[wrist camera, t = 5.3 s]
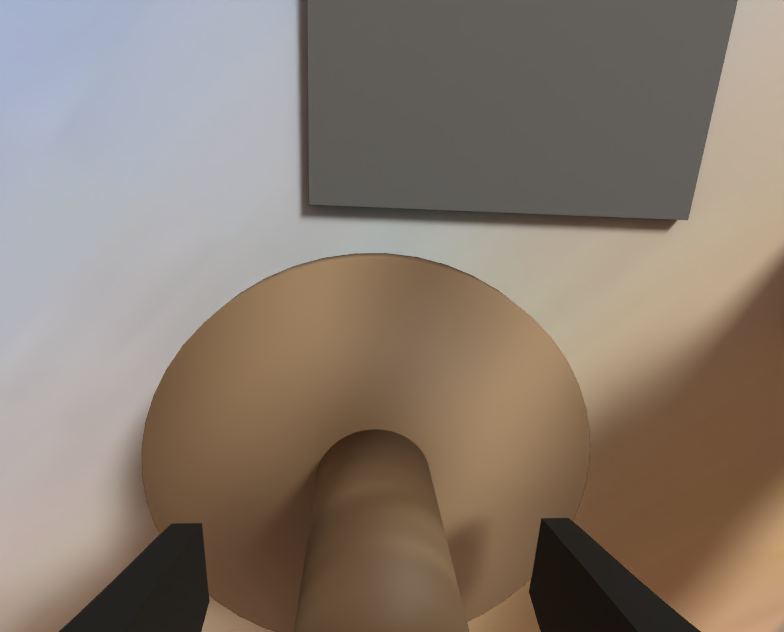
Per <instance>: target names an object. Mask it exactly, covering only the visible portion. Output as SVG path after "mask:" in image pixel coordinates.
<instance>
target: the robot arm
mask: <svg viewBox="0 0 784 632" xmlns="http://www.w3.org/2000/svg"><path fill="white" fill-rule="evenodd" d="M529 593H530V597H531V600H532V604H533V607H534V611H535V614H536V617H537V621H538V624H539V627H540V630H541V632H701V631H699V630H698V629H697V628H695V627H694V626H693V625H692V624H690V623H689V622H688V621H687V620H686V619H684V618H683V617H682V616H681V615H679V614H678V613H677V612H676V611H675V610H673V609H672V608H671V607H670V606H669V605H667V604H666V603H665V602H664V601H663V600H662V599H660V598H659V597H658V596H657V595H656V594H654V593H653V592H652V591H651V590H650V589H649V588H648V587H646V586H645V585H644V584H643V583H642V582H641V581H639V580H638V579H637V578H636V577H635V576H634V575H633V574H631V573H630V572H629V571H628V570H627V569H626V568H625V567H624V566H622V565H621V564H620V563H619V562H618V561H617V560H616V559H615V558H613V557H612V556H611V555H610V554H609V553H608V552H607V551H606V550H604V549H603V548H602V547H601V546H600V545H599V544H598V543H597V542H596V541H594V540H593V539H592V538H591V537H590V536H589V535H588V534H587V533H585V532H584V531H583V530H582V529H581V528H580V527H579V526H577V525H576V524H575V523H574V522H573V521H572V520H570V519H569V518H541V523H540V529H539V535H538V541H537V547H536V553H535V560H534V566H533V572H532V578H531V584H530V590H529ZM208 604H209V592H208V582H207V571H206V560H205V549H204V538H203V528H202V523H174V524H171V525H169V526H168V527H167V528H166V529H165V530H164V531H163V532H162V533H161V534H160V535H159V536H158V537H157V538H156V539H155V540H154V541H153V542H152V543H151V544H150V545H149V546H148V547H147V548H146V549H145V550H144V551H143V552H142V553H141V554H140V555H139V556H138V557H137V558H136V559H135V560H134V561H133V562H132V563H131V564H130V565H129V566H128V567H127V568H125V569H124V570H123V571H122V572H121V573H120V574H119V575H118V576H117V577H116V578H115V579H114V580H113V581H112V582H111V583H110V584H109V585H108V586H107V587H106V588H105V589H104V590H103V591H102V592H101V593H100V594H99V595H98V596H97V597H95V598H94V599H93V600H92V601H91V602H90V603H89V604H88V605H87V606H86V607H85V608H84V609H83V610H82V611H81V612H80V613H79V614H78V615H77V616H75V617H74V618H73V619H72V620H71V621H70V622H69V623H68V624H67V625H66V626H65V627H64V628H62V629H61V630H60V631H59V632H201V630H202V626H203V623H204V619H205V615H206V611H207V608H208Z"/></svg>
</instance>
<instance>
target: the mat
mask: <svg viewBox="0 0 784 632" xmlns="http://www.w3.org/2000/svg"><path fill="white" fill-rule="evenodd" d="M737 1H738V0H307V22H308V135H309V205H333V206H357V207H382V208H406V209H430V210H455V211H479V212H503V213H527V214H552V215H576V216H600V217H624V218H649V219H673V220H688V218H689V213H690V209H691V205H692V200H693V196H694V191H695V187H696V182H697V178H698V174H699V169H700V165H701V160H702V156H703V151H704V147H705V143H706V138H707V134H708V129H709V125H710V120H711V116H712V112H713V107H714V103H715V98H716V94H717V89H718V85H719V81H720V76H721V72H722V67H723V63H724V58H725V54H726V50H727V45H728V41H729V36H730V32H731V27H732V23H733V19H734V14H735V10H736V5H737Z"/></svg>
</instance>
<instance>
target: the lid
mask: <svg viewBox="0 0 784 632" xmlns="http://www.w3.org/2000/svg"><path fill="white" fill-rule="evenodd" d="M589 461H590V431H589V424H588V417H587V410H586V406H585V403H584V400H583V397H582V393H581V390H580V387H579V384H578V382H577V380H576V378H575V376H574V374H573V371H572V369H571V367H570V365H569V363H568V361H567V359H566V358H565V357H564V355H563V354H562V352H561V351H560V349H559V348H558V346H557V345H556V344H555V342H554V341H553V339H552V338H551V337H550V336H549V335H548V334H547V332H546V331H545V330H544V329H543V328H542V327H541V326H540V325H539V324H538V323H537V322H536V321H535V320H534V319H533V318H532V317H531V316H530V315H529V314H528V313H526V312H525V311H524V310H523V309H521V308H520V307H519V306H517V305H516V304H515V303H514V302H512V301H511V300H510V299H509V298H507V297H506V296H505V295H503V294H502V293H501V292H499V291H498V290H496V289H495V288H493V287H491V286H490V285H488V284H486V283H484V282H483V281H481V280H479V279H478V278H476V277H474V276H472V275H470V274H467V273H465V272H462V271H460V270H458V269H455V268H453V267H450V266H448V265H445V264H441V263H437V262H434V261H430V260H426V259H422V258H418V257H412V256H404V255H396V254H387V253H366V254H348V255H341V256H334V257H327V258H322V259H318V260H314V261H311V262H307V263H304V264H300V265H296V266H293V267H291V268H288V269H286V270H284V271H281V272H279V273H277V274H274V275H272V276H269V277H267V278H265V279H263V280H261V281H260V282H258V283H256V284H255V285H253V286H251V287H250V288H248V289H246V290H245V291H243V292H241V293H240V294H238V295H237V296H236V297H234V298H233V299H232V300H231V301H229V302H228V303H227V304H226V305H225V306H223V307H222V308H221V309H220V310H218V311H217V312H216V313H215V314H214V315H212V316H211V317H210V318H209V319H208V320H207V321H206V322H204V323H203V325H202V326H201V327H200V328H199V329H198V330H197V331H196V332H195V333H194V334H193V335H192V336H191V337H190V338H189V340H188V341H187V342H186V343H185V344H184V345H183V346H182V348H181V349H180V351H179V352H178V353H177V355H176V356H175V358H174V359H173V361H172V362H171V364H170V365H169V367H168V368H167V369H166V371H165V373H164V375H163V377H162V379H161V382H160V384H159V386H158V388H157V390H156V392H155V394H154V396H153V399H152V403H151V406H150V409H149V412H148V416H147V419H146V422H145V429H144V436H143V444H142V477H143V483H144V488H145V493H146V499H147V503H148V506H149V509H150V512H151V515H152V517H153V520H154V523H155V526H156V528H157V530H158V532H159V534H161V533H162V532H163V531H164V530H165V529H166V528H167V527H168V526H169V525H171V524H174V523H202V528H203V538H204V549H205V560H206V571H207V582H208V592H209V595H210V596H211V597H212V598H213V599H215V600H216V601H217V602H218V603H220V604H221V605H223V606H224V607H226V608H228V609H229V610H231V611H232V612H234V613H235V614H237V615H239V616H240V617H242V618H244V619H246V620H249V621H251V622H253V623H255V624H257V625H259V626H261V627H263V628H266V629H269V630H272V631H274V632H469V629H468V625H467V622H468V621H470V620H472V619H474V618H476V617H478V616H480V615H482V614H484V613H485V612H487V611H489V610H490V609H492V608H493V607H495V606H497V605H498V604H500V603H501V602H503V601H504V600H506V599H507V598H508V597H510V596H511V595H512V594H513V593H515V592H516V591H517V590H518V589H520V588H521V587H522V586H523V585H525V584H526V583H527V582H528V581H529V580H530V579H531V578H532V572H533V566H534V560H535V553H536V547H537V541H538V535H539V529H540V523H541V518H569V519H570V520H572V521H573V519H574V517H575V514H576V512H577V510H578V508H579V505H580V502H581V499H582V495H583V492H584V488H585V485H586V481H587V474H588V468H589Z"/></svg>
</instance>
